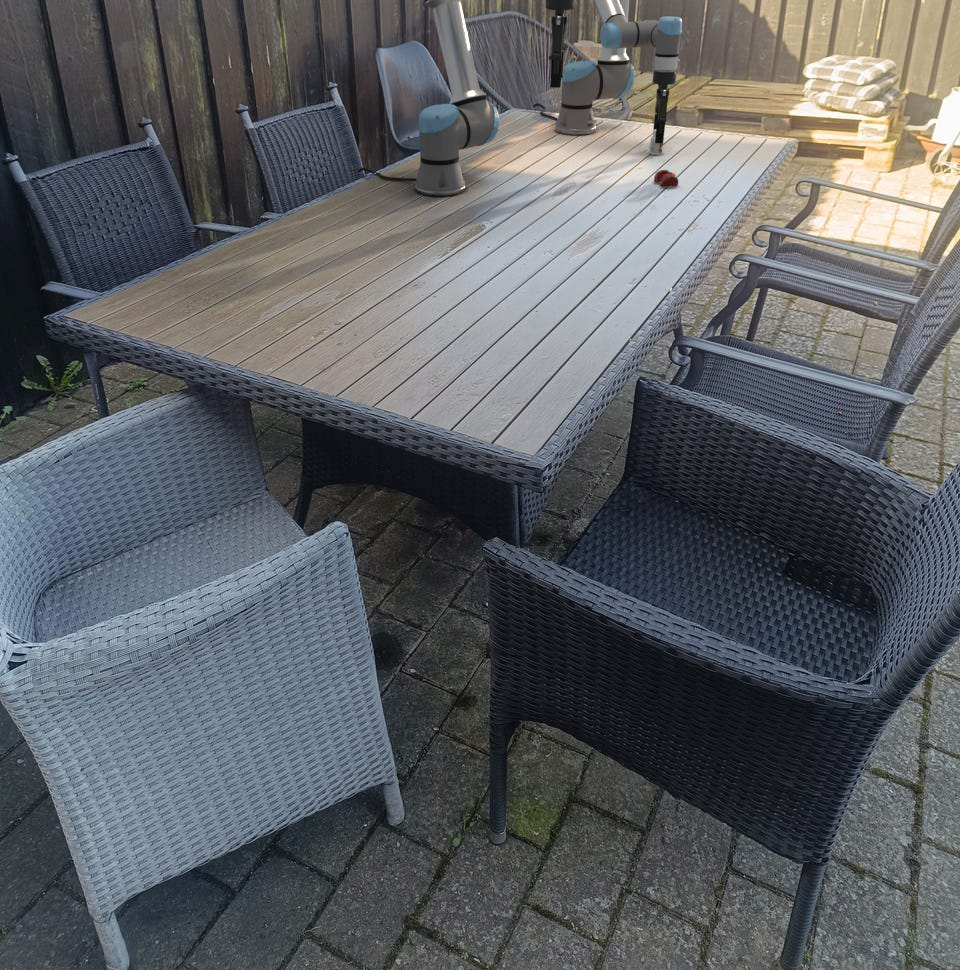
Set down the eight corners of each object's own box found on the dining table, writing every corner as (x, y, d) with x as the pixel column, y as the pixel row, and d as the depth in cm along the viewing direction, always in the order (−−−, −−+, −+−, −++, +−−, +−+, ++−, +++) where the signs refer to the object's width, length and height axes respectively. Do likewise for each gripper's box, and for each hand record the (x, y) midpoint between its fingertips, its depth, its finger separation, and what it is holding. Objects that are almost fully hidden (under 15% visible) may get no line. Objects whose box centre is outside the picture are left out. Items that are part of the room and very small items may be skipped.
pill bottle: (662, 155, 291) (665, 132, 286) (649, 155, 291) (652, 131, 287) (661, 152, 294) (664, 128, 290) (648, 151, 295) (651, 128, 290)
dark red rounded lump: (669, 166, 264) (680, 173, 258) (668, 179, 266) (679, 187, 260) (653, 168, 263) (663, 175, 257) (652, 181, 265) (662, 189, 259)
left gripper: (574, -3, 204) (568, 91, 216) (577, -14, 224) (571, 74, 236) (543, -4, 205) (539, 91, 217) (548, -14, 225) (545, 73, 237)
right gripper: (679, 77, 267) (671, 147, 279) (674, 64, 287) (666, 130, 299) (655, 76, 267) (648, 146, 280) (651, 64, 288) (645, 130, 300)
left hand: (556, 82), depth 227 cm, fingers open, 13 cm apart
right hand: (657, 138), depth 289 cm, fingers open, 13 cm apart
